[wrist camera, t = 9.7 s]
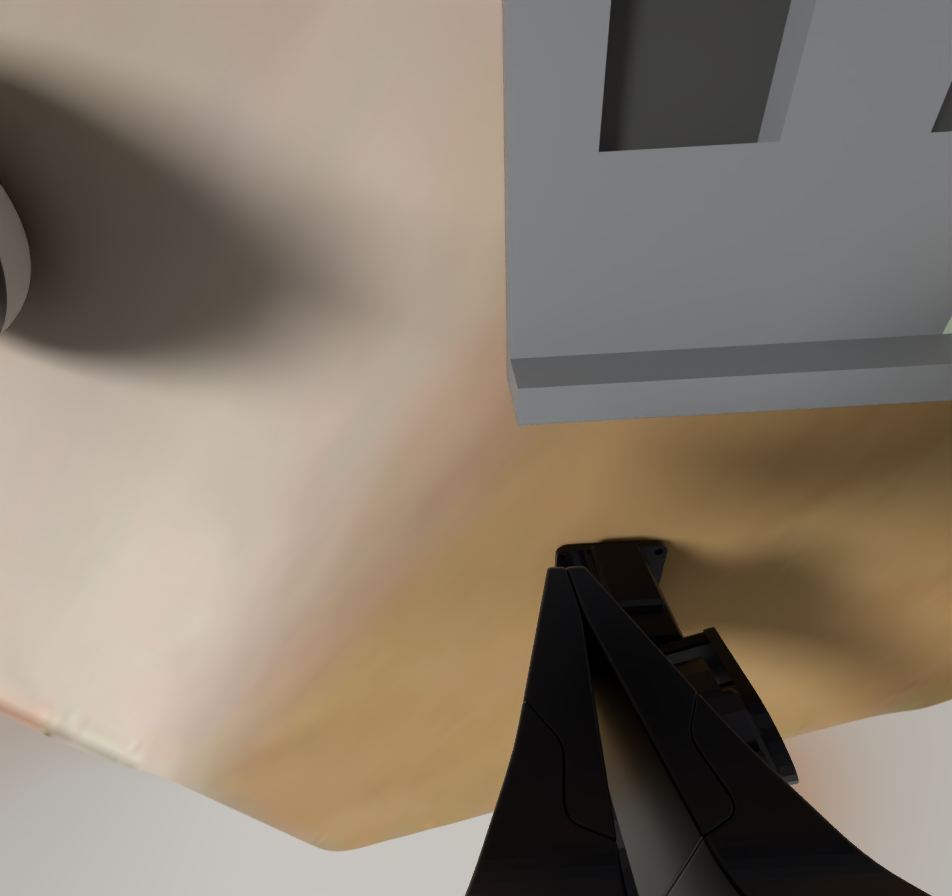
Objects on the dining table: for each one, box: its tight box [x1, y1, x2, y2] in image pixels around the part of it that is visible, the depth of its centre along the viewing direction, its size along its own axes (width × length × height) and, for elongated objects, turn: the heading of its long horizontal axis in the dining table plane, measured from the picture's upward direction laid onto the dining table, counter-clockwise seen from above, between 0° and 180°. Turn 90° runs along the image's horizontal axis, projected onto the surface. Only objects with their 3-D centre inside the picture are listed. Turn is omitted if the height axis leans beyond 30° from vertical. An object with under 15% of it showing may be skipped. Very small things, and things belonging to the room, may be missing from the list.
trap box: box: [502, 0, 952, 425], centre depth 14 cm, size 16×26×4 cm, turn 93°
